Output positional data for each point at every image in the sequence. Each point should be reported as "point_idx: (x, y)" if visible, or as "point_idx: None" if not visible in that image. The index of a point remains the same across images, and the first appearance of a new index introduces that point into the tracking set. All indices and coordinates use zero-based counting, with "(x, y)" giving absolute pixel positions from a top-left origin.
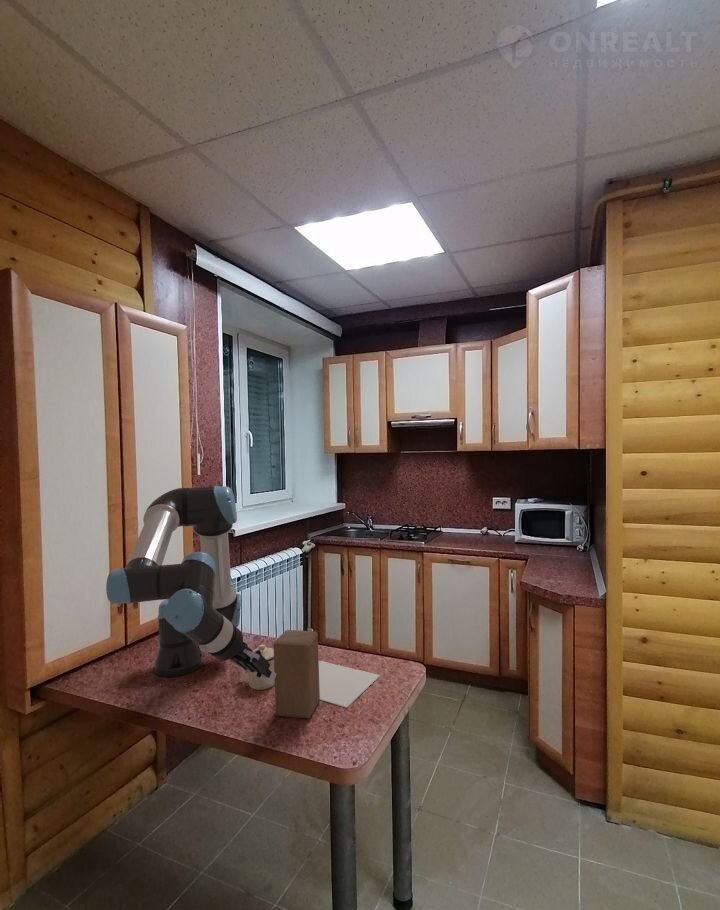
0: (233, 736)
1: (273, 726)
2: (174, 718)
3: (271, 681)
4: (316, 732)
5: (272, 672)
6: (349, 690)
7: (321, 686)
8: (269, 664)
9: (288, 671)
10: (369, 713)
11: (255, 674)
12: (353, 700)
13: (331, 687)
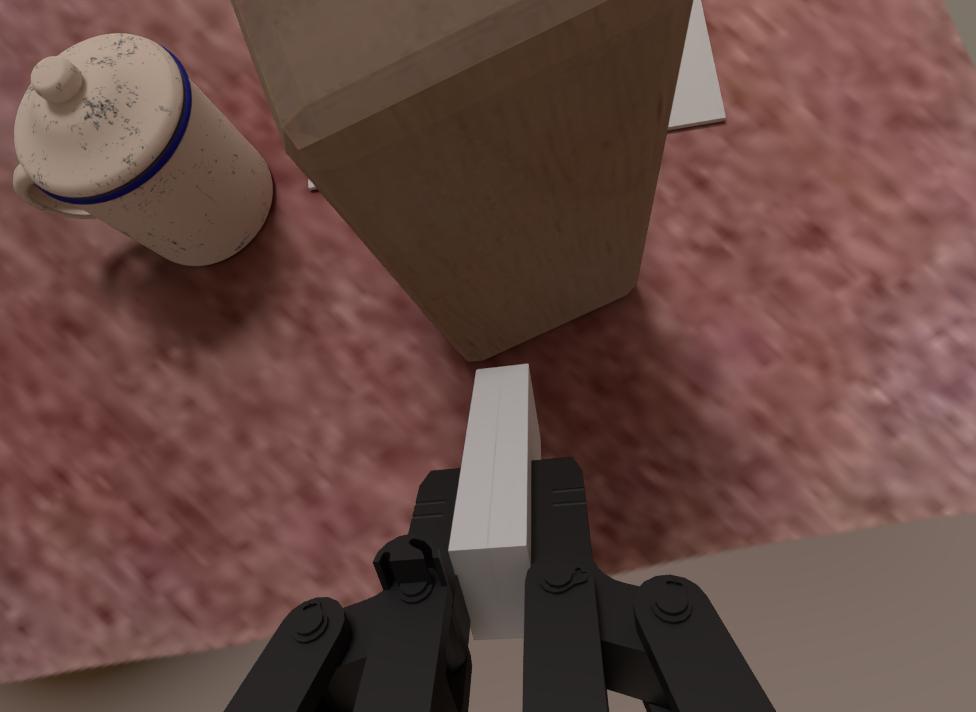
0: None
1: None
2: (41, 658)
3: (538, 441)
4: (747, 347)
5: (529, 413)
6: None
7: None
8: (720, 625)
9: (516, 231)
10: (853, 89)
11: (170, 228)
12: (711, 60)
13: None
